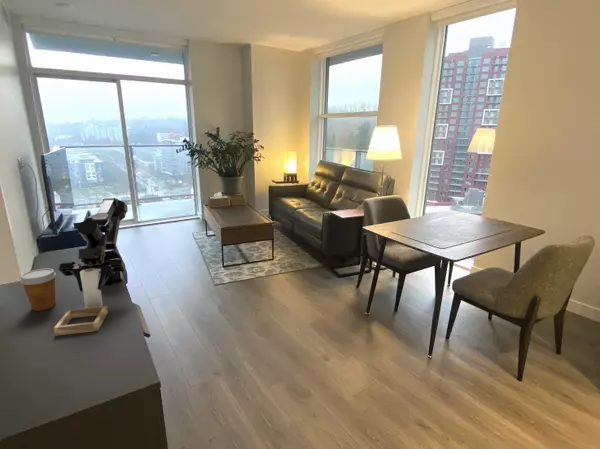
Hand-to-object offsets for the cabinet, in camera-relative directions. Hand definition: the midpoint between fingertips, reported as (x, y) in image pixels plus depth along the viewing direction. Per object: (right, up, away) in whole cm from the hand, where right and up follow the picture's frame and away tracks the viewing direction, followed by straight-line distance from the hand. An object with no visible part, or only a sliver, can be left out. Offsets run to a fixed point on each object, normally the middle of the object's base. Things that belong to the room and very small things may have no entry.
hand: (90, 290), depth 110 cm
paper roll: (0, -6, +3) cm, 7 cm away
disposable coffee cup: (-17, -6, +3) cm, 19 cm away
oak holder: (+3, -9, -7) cm, 12 cm away
